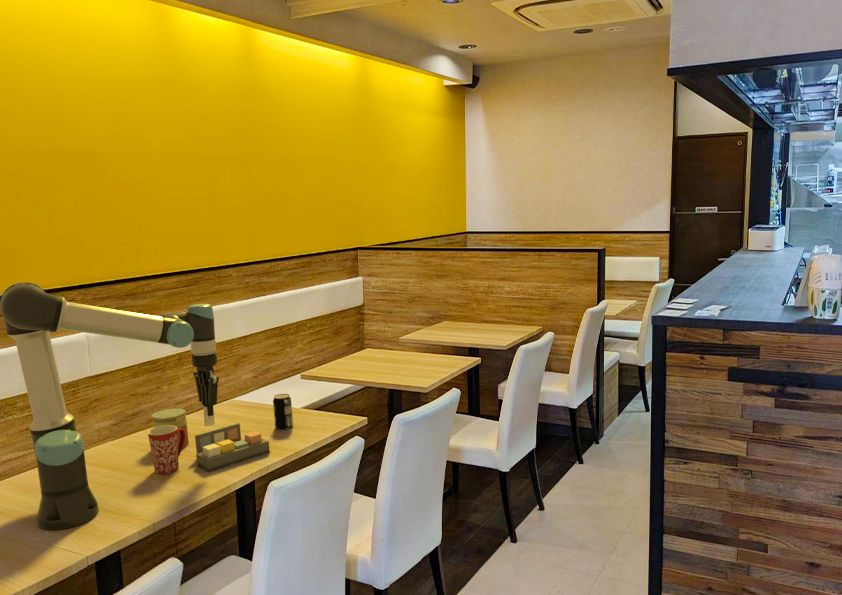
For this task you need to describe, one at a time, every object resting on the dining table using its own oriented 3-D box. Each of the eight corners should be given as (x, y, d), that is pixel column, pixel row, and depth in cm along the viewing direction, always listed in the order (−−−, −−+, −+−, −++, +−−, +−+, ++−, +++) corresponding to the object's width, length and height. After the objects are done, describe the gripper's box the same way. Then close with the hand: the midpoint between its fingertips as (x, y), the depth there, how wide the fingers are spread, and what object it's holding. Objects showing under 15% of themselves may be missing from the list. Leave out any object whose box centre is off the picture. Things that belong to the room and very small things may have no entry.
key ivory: (209, 460, 227) (208, 449, 226) (203, 457, 230) (202, 446, 229) (220, 456, 229) (219, 446, 229) (215, 453, 232) (214, 443, 232)
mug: (164, 477, 222) (159, 436, 220) (145, 472, 227) (141, 432, 225) (196, 463, 233) (192, 423, 231) (177, 459, 238) (173, 420, 235)
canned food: (148, 451, 246) (145, 418, 244) (165, 440, 257) (162, 408, 255) (178, 452, 244) (175, 418, 242) (194, 440, 255) (191, 408, 253)
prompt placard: (198, 459, 236) (196, 436, 235) (197, 458, 237) (194, 435, 236) (241, 445, 247) (239, 423, 246) (240, 445, 248) (238, 423, 247)
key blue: (238, 456, 234) (237, 446, 233) (232, 453, 236) (231, 443, 236) (249, 452, 236) (248, 442, 236) (243, 449, 239) (242, 439, 239)
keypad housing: (208, 472, 225) (207, 460, 224) (197, 465, 231) (196, 454, 230) (269, 452, 239) (268, 441, 239) (257, 446, 245) (256, 435, 244)
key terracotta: (251, 447, 237) (250, 437, 236) (245, 444, 240) (244, 434, 239) (261, 443, 239) (261, 433, 239) (255, 441, 242) (255, 431, 242)
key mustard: (223, 455, 230) (222, 445, 229) (217, 452, 233) (216, 442, 232) (234, 452, 233) (234, 442, 232) (229, 449, 236) (228, 439, 235)
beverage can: (274, 425, 267) (271, 394, 265) (292, 423, 269) (289, 392, 267) (276, 431, 261) (273, 399, 259) (294, 428, 263) (291, 397, 261)
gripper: (224, 353, 223) (230, 426, 226) (205, 348, 232) (211, 417, 235) (202, 357, 217) (208, 432, 221) (183, 352, 227) (189, 423, 230)
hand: (209, 424), depth 228 cm, fingers closed
